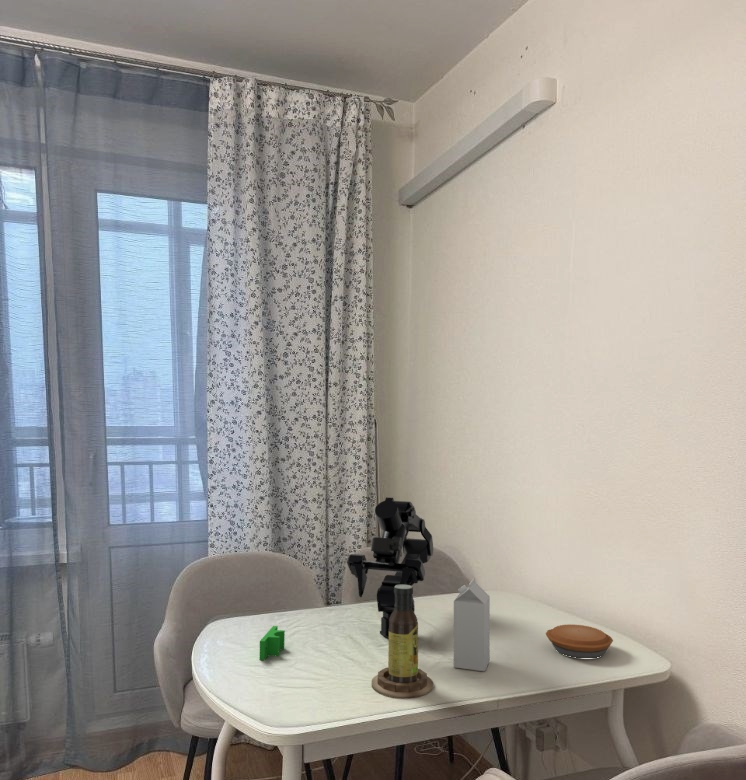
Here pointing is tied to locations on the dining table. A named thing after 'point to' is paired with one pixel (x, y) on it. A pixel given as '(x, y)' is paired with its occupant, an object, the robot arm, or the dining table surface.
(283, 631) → the pipe clamp
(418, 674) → the ring holder
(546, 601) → the dining table surface
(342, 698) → the dining table surface
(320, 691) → the dining table surface
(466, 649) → the milk carton
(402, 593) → the sauce bottle
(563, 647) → the pie
